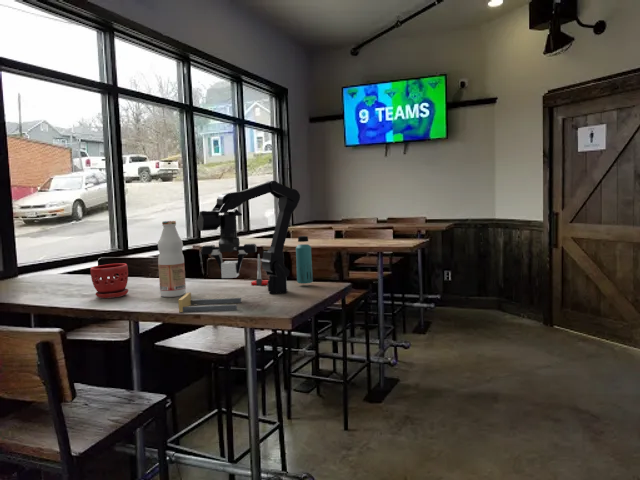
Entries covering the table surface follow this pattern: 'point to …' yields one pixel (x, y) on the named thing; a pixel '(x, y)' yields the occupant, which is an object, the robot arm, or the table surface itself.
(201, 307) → the guide rails
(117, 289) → the plant pot
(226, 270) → the aluminium lock block
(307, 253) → the beverage bottle
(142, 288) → the table surface
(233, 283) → the table surface
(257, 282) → the receipt spike
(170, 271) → the fruit juice
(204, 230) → the robot arm
